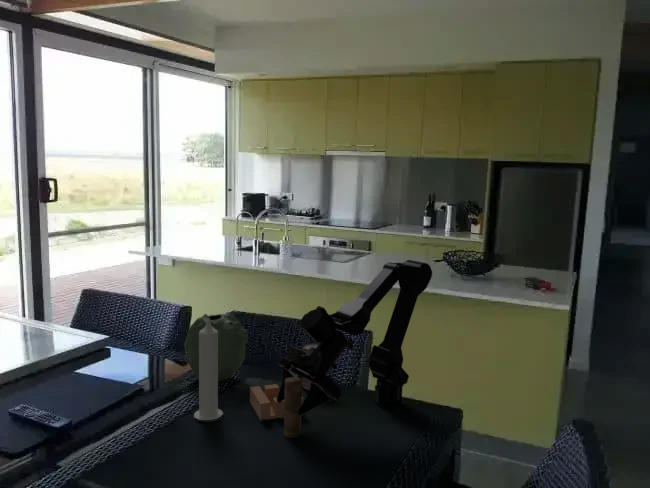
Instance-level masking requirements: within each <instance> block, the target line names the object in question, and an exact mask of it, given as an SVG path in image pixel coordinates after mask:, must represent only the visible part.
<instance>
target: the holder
mask: <svg viewBox="0 0 650 488" xmlns="http://www.w3.org/2000/svg"><path fill="white" fill-rule="evenodd" d="M280 385H282V383H280ZM279 391H280V386H279V385H278V384H277V383H275V384H266V385H263V390H262V388H261V386H260V385H257V386H250V387H249V404H250V403H251V405H252V406H253V408H254V410H255V411H256V413H257V415H258V416H259V418H260V420H262V419H274V418H281V419H284V400H283V401H282V402H280V403H279V402H278V401H277V397H278V394H279ZM303 402H304V398H303V396H302V403H303ZM251 405H250V406H251ZM252 406H251V407H252ZM253 408H252V409H253ZM254 410H253V411H254ZM255 411H254V412H255ZM256 413H255V414H256ZM257 415H256V416H257ZM302 416H304V414H302V415H301V417H302ZM259 418H258V419H259ZM260 420H259V421H260ZM274 420H275V419H274Z"/></svg>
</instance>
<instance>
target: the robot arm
mask: <svg viewBox="0 0 650 488" xmlns="http://www.w3.org/2000/svg"><path fill="white" fill-rule="evenodd" d="M432 277H433V270H432V267H431V265H430V264H429V263H427V262H422V261H417V260H411V259H408V260H405V261H403V262H391V261H389V262H386V263H385V264H384V265H383V266H382V269H381V270H380V271H379V273H378V274H377V275H376V276H375V277H374V278H373V279H372V280H371V282H370V283H369V284H368V285H367V286H366V287H365V288H364V290H363V291H362V292H361V293H360V294H359V295H358V296H357V297H356V298H355V299H353V300H350V301H348V302H346V303H345V304H344V305H342V306H340V308H339V309H338V310H336V312H334V313H331V314H329V313H328V312H327V310H326V308H325V307H323V306H320V305H318V306H316V308H315V309H312V310H309V311H307V313H304V315H303V316H302V317H301V320H300V324H299V325H300V327H301V328H302V329H303V330H304V331H305V332H306V333H307V334H308V336H310V337H311V339H313V341H314V342H315V343H318V344H319V345H318V346H317V347H316V349H315V348H313V347H312V348H310V349H309V350H308V351H305V350H303V348H299V347H296V346H293V345H291V347H290V349H289V352H288V355H287V356H285V357H282V358H281V360H280V361H279V363H278V366H280V370H281V372H282V381H281V384H282V385H281V384H280V385H281V386H280V387H279V394H278V397H277V401H278V402H279V403H280V402H282V401H283V400H284V399H285V379H286V378H289V377H298V378H301V379H303V378H304V379H306V380H308V381H310V382H312V383H311V384H310V391H309V392H308V394H307V396H305V398H304V399H303V403H302V405H301V406H300V408H299V410H298V412H297V413H298V414H299V415H300V416H301V415H302V414H303V415H304V414H306V413H307V412H309V411H311V410H312V409H314V408H316V407H318V406H320V405H323V404H324V403H326V402H331V401H332V400H335V401H338V400H339V399H340V398H341V396H342V395H343V389H342V387H341V386H340V385H339V384H338V383H337V382H336V381H335V380H334V379H333V378H332V377H330V376H328V373H329V372H330V370H331V369H333V370H336V368H337V366H338V364H336V362H337V361H338V359H339V357H340V356H341V354H342V353H343V351H344V350H345V349H349V350H354V344H353V338H352V337H349V336H346V334H349V335H352V336H359V335H361V334H363V332H364V330H365V328H366V327H367V326H368V324H369V323H370V321H371V315H372V312H373V310H374V309H376V307H377V306H378V304H380V302H381V301H382V300H383V298H384V297H385V296H386V295H387V294H388V293H389V292H390V290H392V288H393V287H394V286H395V285H396V283H397V282H398V285H399V292H398V295H397V298H396V301H395V304H394V309H393V311H392V314H391V317H390V320H389V323H388V326H387V329H386V333H385V334H384V338H383V341H381V342H380V343H379V344H378V345H375V344H374V345H373V346H372V348H371V353H370V355H369V356H368V358H367V359H368V360H369V361H368V367H369V370H370V371H371V376H372V377H373V378H374V379H376V385H374V396H373V397H372V400H374V402H375V403H376V404H378V405H379V406H381V408H382V409H388V408H394V407H401V406H405V405H406V403H405V402H404V401H403V387H404V385H405V384H408V380H409V377H410V376H409V374H408V373H407V372H406V370H404V368H403V367H402V366H403V362H404V355H403V351H402V346H403V343H404V339H405V337H406V335H407V334H406V333H407V331H408V328H409V325H410V321H411V318H412V316H413V312H414V310H415V306H416V303H417V300H418V297H419V296H420V295H421V294H422V293H423V292H424V291H425V290H426V289H427V288H428V286H429V284H430V283H431V279H432ZM344 333H346V334H344ZM306 375H308V376H306ZM312 378H314V379H312ZM313 383H314V384H313ZM315 384H316V385H315ZM301 417H302V416H301Z"/></svg>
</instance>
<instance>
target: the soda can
mask: <svg viewBox="0 0 650 488" xmlns="http://www.w3.org/2000/svg"><path fill="white" fill-rule="evenodd" d="M318 345H319V343H307V344H304V345H303V347H302V350H305V351H308V350H309V349H310V348H312V347H313V348H315V349H316V347H317V346H318ZM306 376H308V375H306ZM312 379H314V378H312ZM311 383H312V382H310V381H308V380H306V379H304V378H303V379H302V389H304V390H305V391H309V392H310V384H311ZM313 384H314V383H313ZM315 385H316V384H315Z"/></svg>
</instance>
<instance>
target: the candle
mask: <svg viewBox="0 0 650 488" xmlns="http://www.w3.org/2000/svg"><path fill="white" fill-rule="evenodd" d="M198 392H199V393H198V395H199V397H198V401H199V402H198V404H199V405H198V407H199V408H198V410H196V411H195V412H194V414H193V419H194V418H196V419H198V420H213V419H217V418H219V417H221V416H222V415H223V416H224V412H223V411H222V410H221V409H219V407H218V406H219V381H218V331H217V330H216V329H214V328H213V327H212V326H211V323H210V319H209V318H208V319H207V323H206V326H205V327H204V328H203V329H202V330H201V331H200V332H199V376H198Z"/></svg>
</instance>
